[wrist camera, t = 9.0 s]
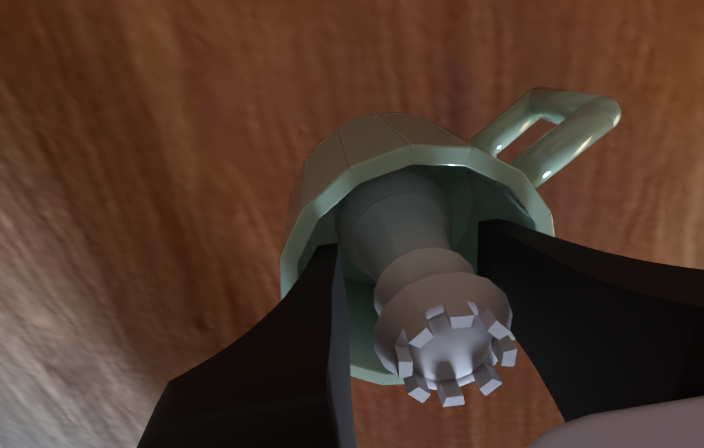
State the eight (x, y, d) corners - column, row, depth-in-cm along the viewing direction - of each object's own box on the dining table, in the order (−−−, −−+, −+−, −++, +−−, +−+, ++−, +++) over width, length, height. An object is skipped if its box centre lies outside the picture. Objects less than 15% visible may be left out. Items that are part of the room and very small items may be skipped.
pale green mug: (375, 316, 18) (400, 418, 13) (250, 206, 15) (218, 285, 10) (575, 162, 15) (700, 215, 10) (471, -4, 12) (576, -41, 7)
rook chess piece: (309, 204, 14) (304, 357, 7) (404, 133, 14) (505, 226, 6) (374, 279, 16) (423, 462, 9) (462, 220, 15) (593, 370, 8)
